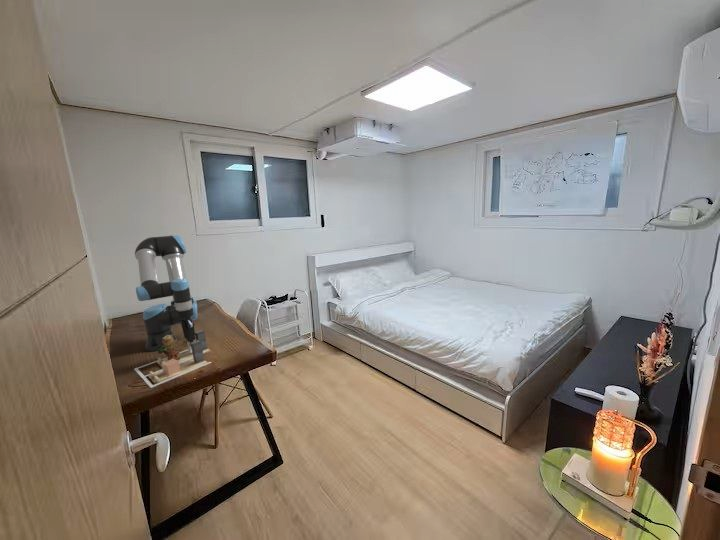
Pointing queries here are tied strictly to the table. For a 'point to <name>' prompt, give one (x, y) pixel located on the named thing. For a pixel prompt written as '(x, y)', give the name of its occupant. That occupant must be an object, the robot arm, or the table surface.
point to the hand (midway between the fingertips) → (192, 351)
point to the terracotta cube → (171, 367)
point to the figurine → (169, 348)
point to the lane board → (162, 370)
